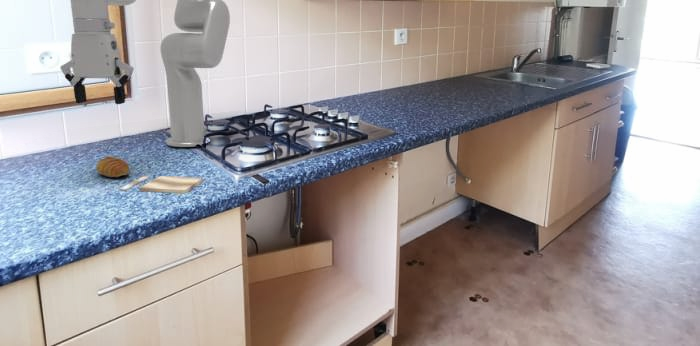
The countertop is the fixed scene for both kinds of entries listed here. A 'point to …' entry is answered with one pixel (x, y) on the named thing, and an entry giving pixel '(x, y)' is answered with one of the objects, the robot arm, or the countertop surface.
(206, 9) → the robot arm
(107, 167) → the pastry
